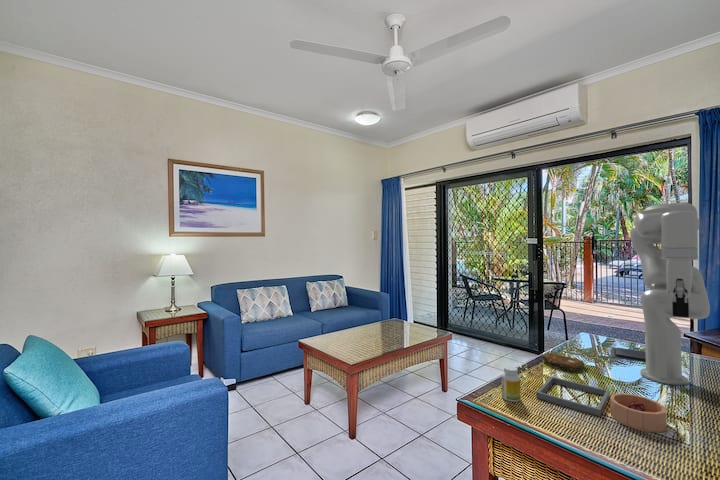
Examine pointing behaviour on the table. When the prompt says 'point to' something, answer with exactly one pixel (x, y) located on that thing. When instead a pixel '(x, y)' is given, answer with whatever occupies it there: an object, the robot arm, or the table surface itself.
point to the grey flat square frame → (572, 404)
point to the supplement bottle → (511, 384)
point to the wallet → (628, 354)
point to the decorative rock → (564, 361)
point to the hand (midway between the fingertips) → (680, 313)
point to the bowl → (638, 413)
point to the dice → (637, 406)
